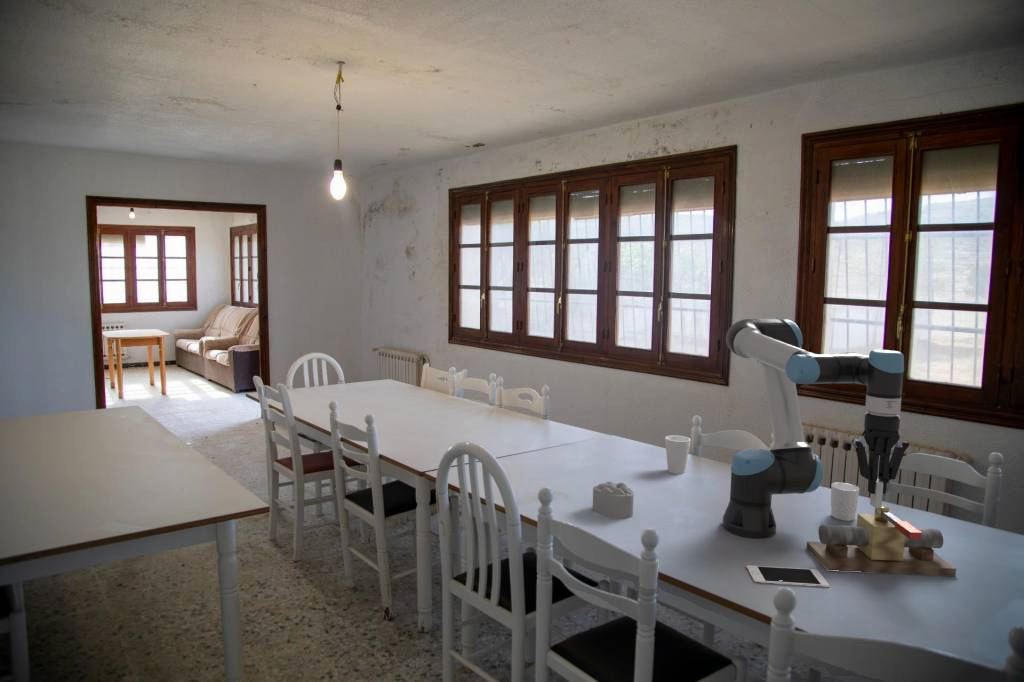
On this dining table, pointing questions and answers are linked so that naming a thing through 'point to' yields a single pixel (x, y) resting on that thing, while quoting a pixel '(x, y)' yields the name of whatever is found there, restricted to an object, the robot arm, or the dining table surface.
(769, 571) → the cell phone
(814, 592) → the dining table surface
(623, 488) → the lumpy-topped squat cylinder
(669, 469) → the foam cup
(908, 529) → the valve lever
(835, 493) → the white cup
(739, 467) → the robot arm
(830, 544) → the pipe rig
